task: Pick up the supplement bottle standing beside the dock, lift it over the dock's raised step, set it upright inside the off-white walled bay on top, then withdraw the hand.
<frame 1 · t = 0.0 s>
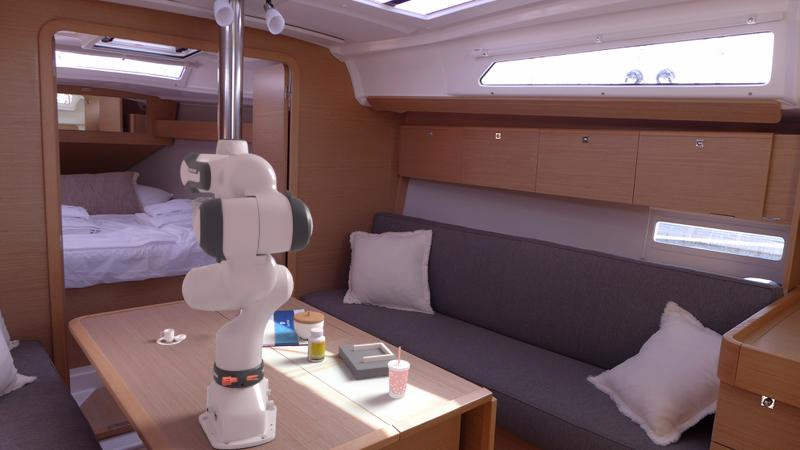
hand: (230, 246, 154), 39 cm above the table, tool pointing down, fingers open, 8 cm apart
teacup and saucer: (174, 345, 183), on the table
dock: (370, 363, 174), on the table
supplement bottle: (316, 359, 176), on the table
beverage cup: (397, 395, 155), on the table
lidded jar: (308, 337, 195), on the table
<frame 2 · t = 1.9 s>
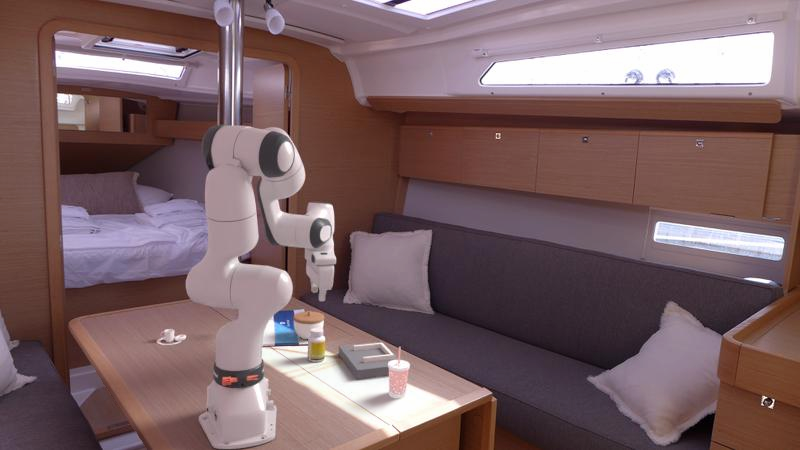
hand: (318, 296, 173), 21 cm above the table, tool pointing down, fingers open, 8 cm apart
nothing on the table moved.
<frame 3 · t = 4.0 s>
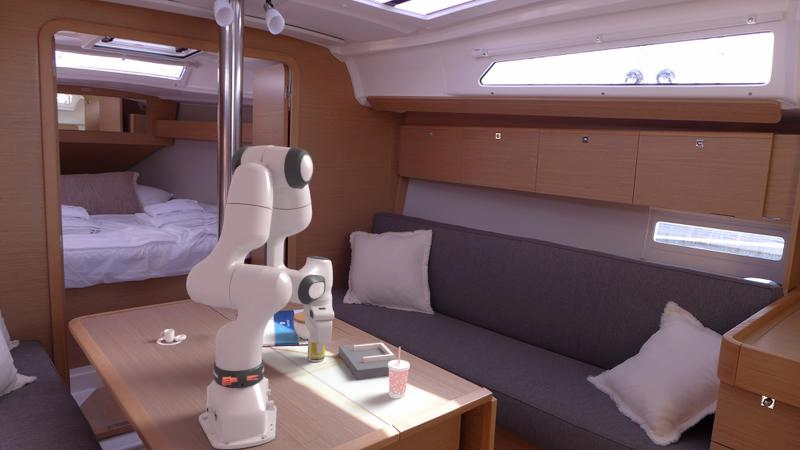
hand: (316, 348, 175), 4 cm above the table, tool pointing down, fingers closed on supplement bottle, 5 cm apart
supplement bottle: (316, 359, 176), on the table, touching gripper
everything else where it was.
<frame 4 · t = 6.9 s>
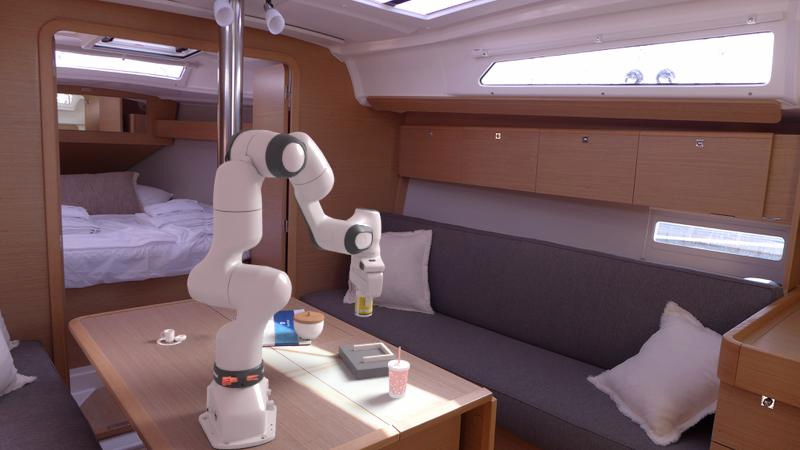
hand: (363, 302, 172), 20 cm above the table, tool pointing down, fingers closed on supplement bottle, 5 cm apart
supplement bottle: (363, 315, 173), point 16 cm above the table, touching gripper
everything else where it was.
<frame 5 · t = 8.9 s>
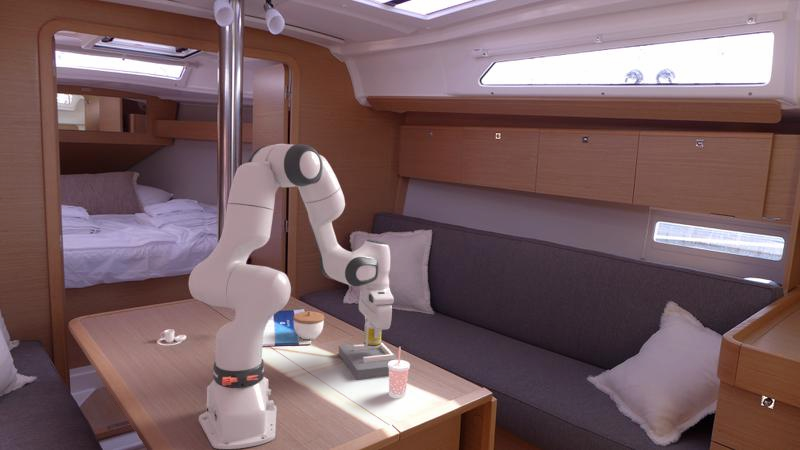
hand: (372, 333, 173), 10 cm above the table, tool pointing down, fingers closed on supplement bottle, 5 cm apart
supplement bottle: (372, 345, 174), point 6 cm above the table, touching gripper
everything else where it was.
when the fingers open (8 cm above the table, at t = 10.2 s): supplement bottle drops 1 cm, resting on dock.
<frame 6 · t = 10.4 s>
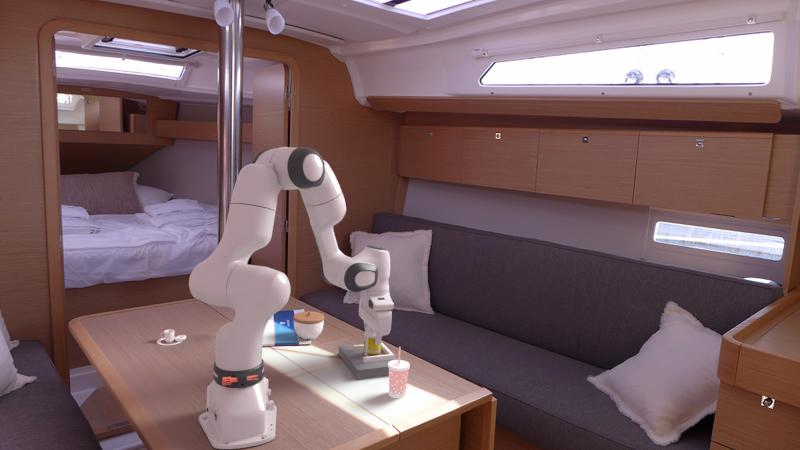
hand: (372, 339, 173), 8 cm above the table, tool pointing down, fingers open, 7 cm apart
supplement bottle: (371, 355, 174), point 3 cm above the table, touching dock
everything else where it was.
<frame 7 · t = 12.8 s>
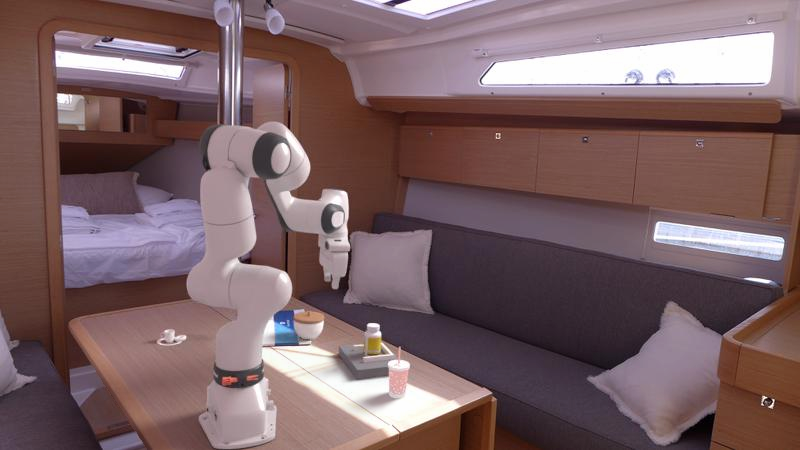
hand: (331, 284, 171), 25 cm above the table, tool pointing down, fingers open, 8 cm apart
nothing on the table moved.
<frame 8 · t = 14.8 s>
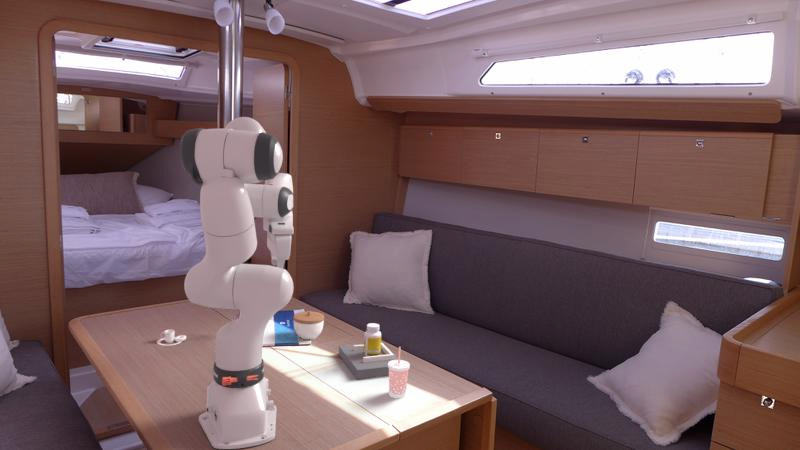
hand: (277, 268, 172), 29 cm above the table, tool pointing down, fingers open, 8 cm apart
nothing on the table moved.
at the end: supplement bottle 0.1 cm off-centre on the dock, point 2.8 cm above the dock's base; supplement bottle tilted 0°; the gripper is holding nothing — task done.
